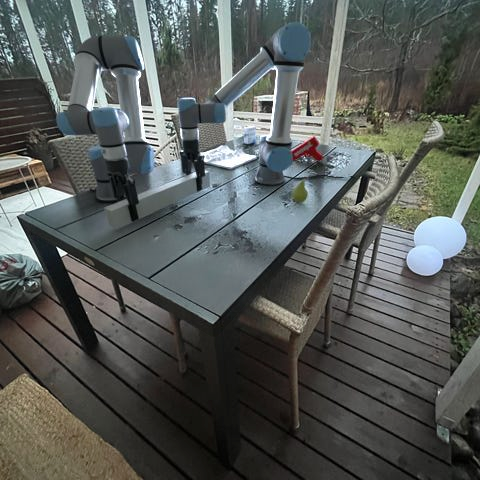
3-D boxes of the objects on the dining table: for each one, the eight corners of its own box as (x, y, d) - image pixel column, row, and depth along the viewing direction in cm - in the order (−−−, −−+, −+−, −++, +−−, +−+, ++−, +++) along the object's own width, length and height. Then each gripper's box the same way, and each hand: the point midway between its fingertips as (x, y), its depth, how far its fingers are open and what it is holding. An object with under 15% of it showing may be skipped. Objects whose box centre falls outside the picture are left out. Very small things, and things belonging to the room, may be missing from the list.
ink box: (251, 141, 219) (251, 125, 213) (255, 142, 216) (255, 126, 210) (243, 143, 214) (243, 127, 208) (248, 144, 211) (248, 128, 205)
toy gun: (327, 156, 170) (314, 135, 166) (326, 157, 167) (314, 136, 163) (301, 171, 180) (289, 151, 176) (301, 173, 177) (288, 153, 173)
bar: (203, 184, 136) (201, 169, 132) (210, 186, 134) (209, 171, 130) (109, 225, 102) (103, 207, 97) (116, 229, 99) (111, 211, 95)
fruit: (288, 200, 123) (290, 174, 116) (302, 197, 125) (305, 172, 119) (296, 206, 118) (299, 179, 111) (310, 203, 120) (314, 177, 114)
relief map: (230, 169, 160) (230, 160, 157) (189, 159, 178) (188, 151, 175) (256, 158, 178) (256, 150, 176) (216, 150, 196) (216, 143, 193)
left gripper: (91, 156, 95) (109, 215, 107) (121, 165, 86) (136, 228, 98) (110, 151, 100) (125, 208, 112) (141, 159, 91) (153, 220, 103)
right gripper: (169, 137, 119) (176, 187, 131) (199, 143, 110) (203, 196, 122) (182, 134, 124) (187, 183, 136) (211, 139, 115) (214, 191, 127)
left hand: (130, 218), depth 105 cm, fingers closed on bar, 5 cm apart
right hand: (195, 189), depth 129 cm, fingers closed on bar, 5 cm apart
